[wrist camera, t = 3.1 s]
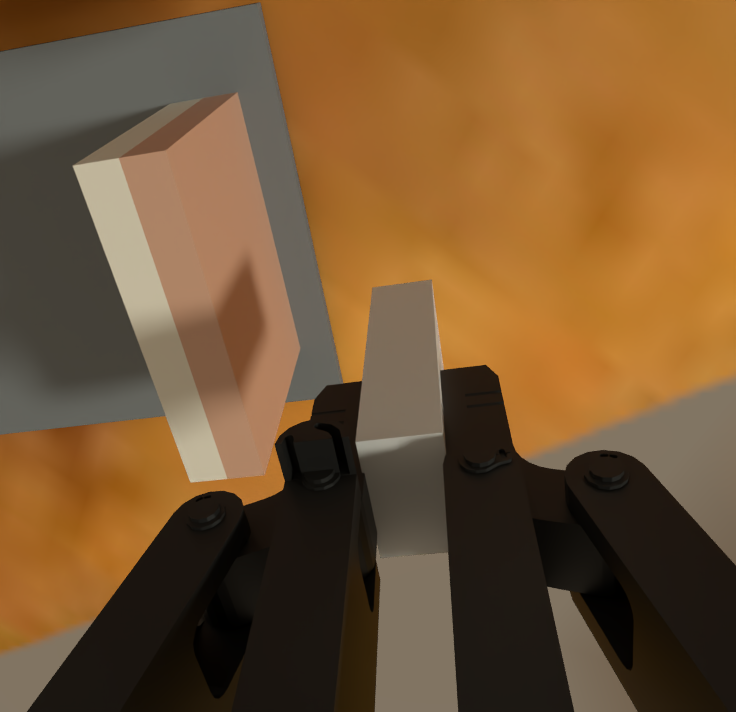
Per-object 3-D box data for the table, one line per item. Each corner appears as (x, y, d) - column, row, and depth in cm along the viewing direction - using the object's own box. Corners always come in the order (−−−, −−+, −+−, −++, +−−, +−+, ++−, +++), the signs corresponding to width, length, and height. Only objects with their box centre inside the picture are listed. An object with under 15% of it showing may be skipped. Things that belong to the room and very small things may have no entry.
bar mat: (-225, 94, 25) (-238, 96, 25) (260, 2, 23) (256, 3, 22) (-39, 431, 33) (-46, 439, 32) (344, 388, 30) (343, 395, 30)
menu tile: (170, 103, 24) (72, 165, 17) (237, 92, 24) (165, 150, 17) (243, 355, 29) (190, 482, 22) (300, 348, 29) (264, 475, 22)
